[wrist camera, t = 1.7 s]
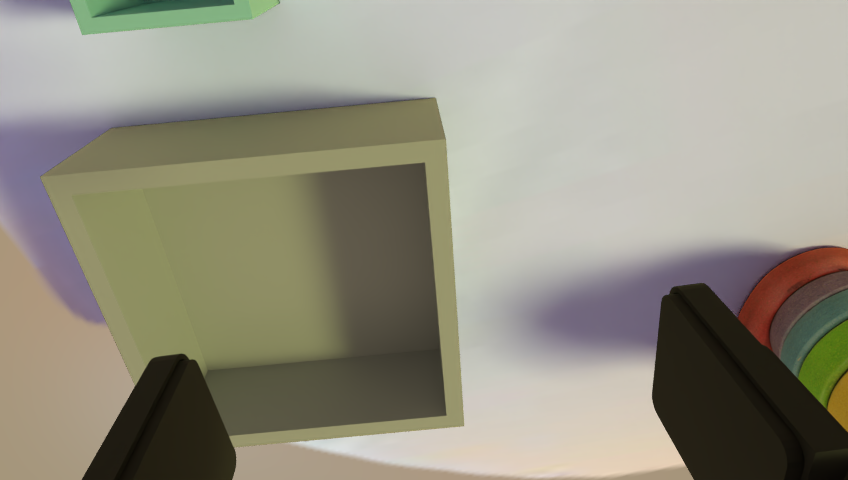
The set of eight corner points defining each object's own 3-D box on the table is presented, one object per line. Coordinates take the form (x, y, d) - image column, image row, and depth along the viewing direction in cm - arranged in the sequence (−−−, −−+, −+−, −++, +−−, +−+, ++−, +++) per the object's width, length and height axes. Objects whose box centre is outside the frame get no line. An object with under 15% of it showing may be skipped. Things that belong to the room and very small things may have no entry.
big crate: (111, 128, 30) (39, 176, 24) (435, 97, 30) (445, 138, 24) (201, 372, 39) (166, 453, 33) (453, 349, 39) (464, 426, 33)
